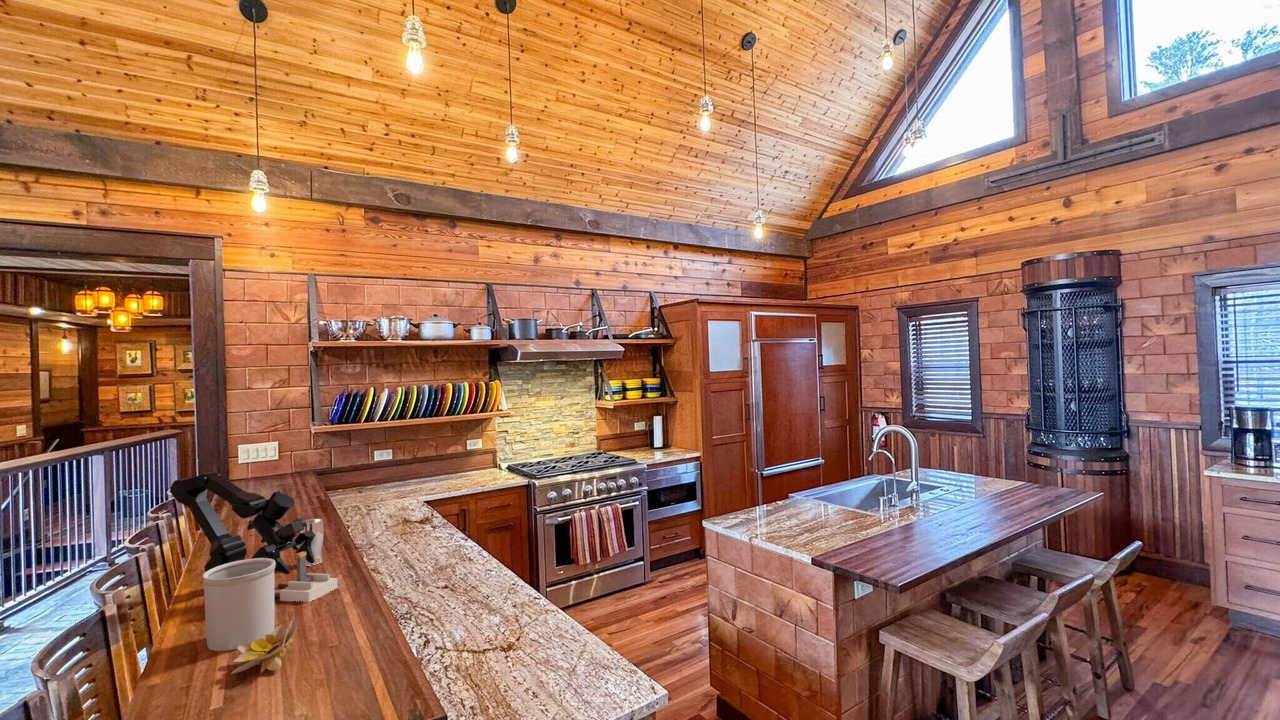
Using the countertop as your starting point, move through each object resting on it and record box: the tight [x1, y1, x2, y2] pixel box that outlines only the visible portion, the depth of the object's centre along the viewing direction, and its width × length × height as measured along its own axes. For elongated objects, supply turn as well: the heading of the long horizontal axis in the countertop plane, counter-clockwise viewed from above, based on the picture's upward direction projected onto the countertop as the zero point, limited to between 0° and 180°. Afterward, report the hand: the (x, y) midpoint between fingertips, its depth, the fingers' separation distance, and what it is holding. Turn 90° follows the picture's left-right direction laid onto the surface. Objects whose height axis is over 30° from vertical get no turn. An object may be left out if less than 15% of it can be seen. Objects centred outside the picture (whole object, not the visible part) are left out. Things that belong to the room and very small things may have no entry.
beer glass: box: [300, 518, 325, 567], centre depth 194 cm, size 7×7×15 cm
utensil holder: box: [201, 558, 276, 652], centre depth 138 cm, size 15×15×18 cm
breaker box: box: [274, 572, 338, 603], centre depth 166 cm, size 19×11×5 cm, turn 78°
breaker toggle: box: [295, 552, 312, 582], centre depth 166 cm, size 3×5×9 cm, turn 168°
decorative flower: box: [230, 618, 299, 676], centre depth 125 cm, size 15×11×10 cm
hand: (301, 568), depth 166 cm, fingers open, 9 cm apart
